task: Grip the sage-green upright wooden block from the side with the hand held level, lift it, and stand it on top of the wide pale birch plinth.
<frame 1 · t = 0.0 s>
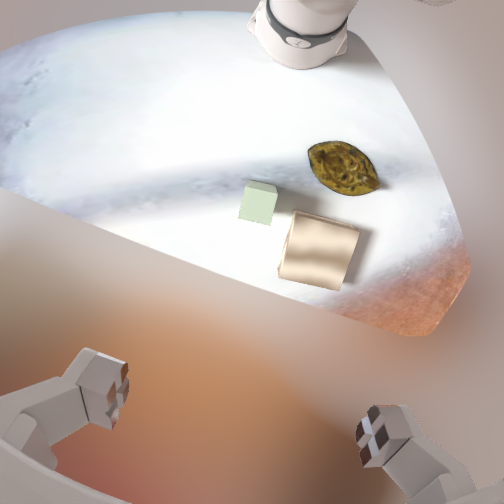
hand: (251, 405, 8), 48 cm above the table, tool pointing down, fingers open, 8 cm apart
green block: (258, 195, 54), on the table
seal: (342, 168, 52), on the table
plinth: (315, 246, 57), on the table
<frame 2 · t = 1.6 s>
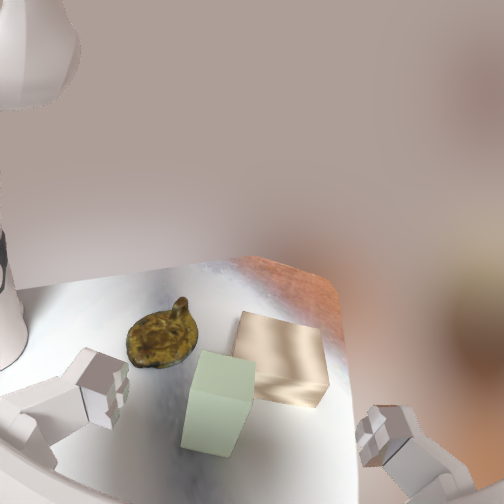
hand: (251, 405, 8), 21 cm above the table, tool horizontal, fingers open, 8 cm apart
green block: (208, 434, 27), on the table
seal: (162, 340, 40), on the table
plinth: (271, 371, 39), on the table
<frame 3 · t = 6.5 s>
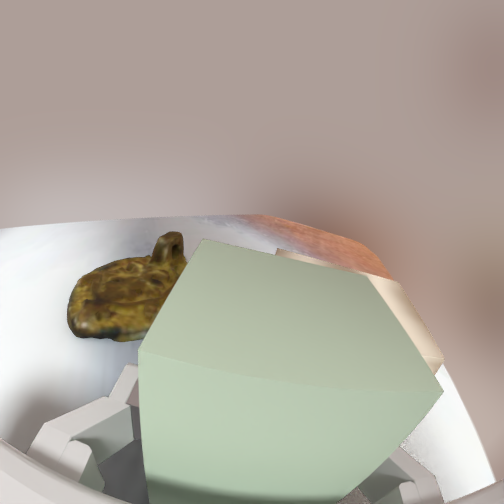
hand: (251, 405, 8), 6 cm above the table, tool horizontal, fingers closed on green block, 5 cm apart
green block: (222, 490, 10), on the table, touching gripper
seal: (137, 299, 23), on the table
plinth: (326, 349, 22), on the table
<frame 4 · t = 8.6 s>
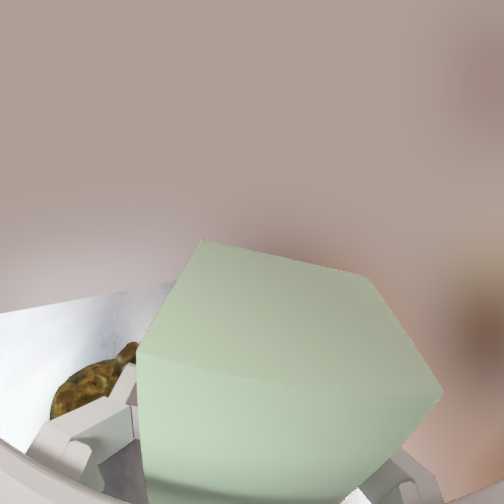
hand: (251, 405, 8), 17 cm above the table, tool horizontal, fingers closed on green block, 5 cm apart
green block: (221, 491, 9), point 11 cm above the table, touching gripper
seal: (104, 406, 23), on the table
when the fingers open (12 cm above the table, at t = 10.9 s): green block drops 2 cm, resting on plinth.
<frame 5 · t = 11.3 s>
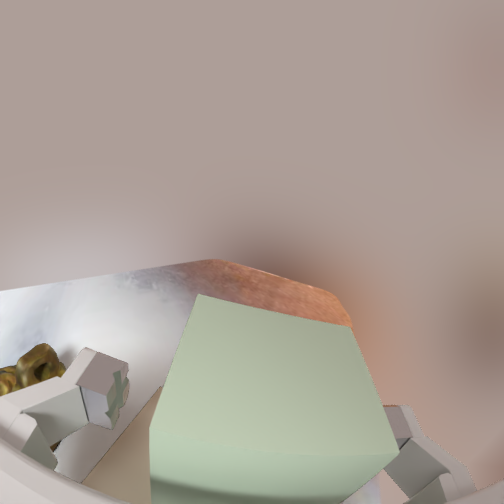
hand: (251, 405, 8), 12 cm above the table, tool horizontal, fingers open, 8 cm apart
green block: (215, 501, 10), point 5 cm above the table, touching plinth
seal: (8, 424, 13), on the table
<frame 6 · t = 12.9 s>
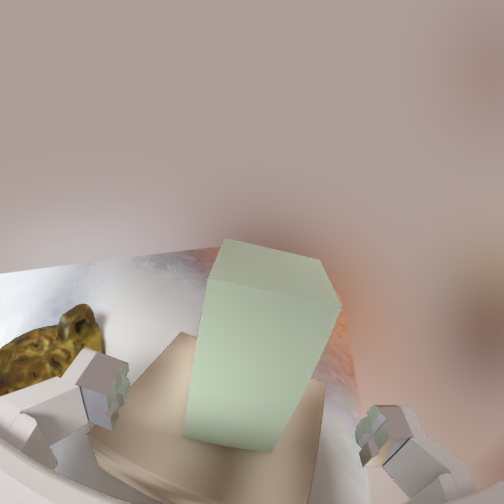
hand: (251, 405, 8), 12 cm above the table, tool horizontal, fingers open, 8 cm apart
green block: (230, 414, 16), point 5 cm above the table, touching plinth
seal: (45, 374, 19), on the table
plinth: (214, 450, 18), on the table, touching green block
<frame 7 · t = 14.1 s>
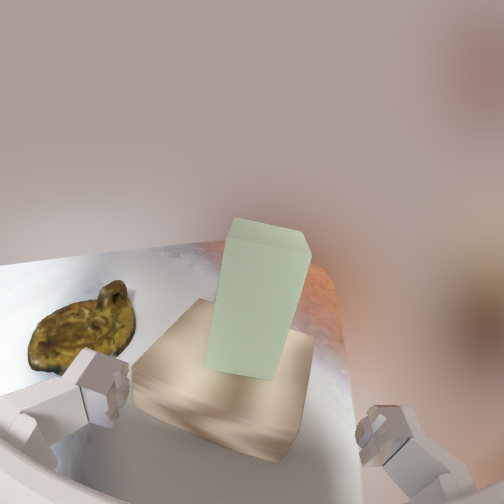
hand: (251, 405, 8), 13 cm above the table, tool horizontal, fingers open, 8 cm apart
green block: (240, 354, 23), point 5 cm above the table
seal: (84, 338, 26), on the table
plinth: (226, 393, 24), on the table
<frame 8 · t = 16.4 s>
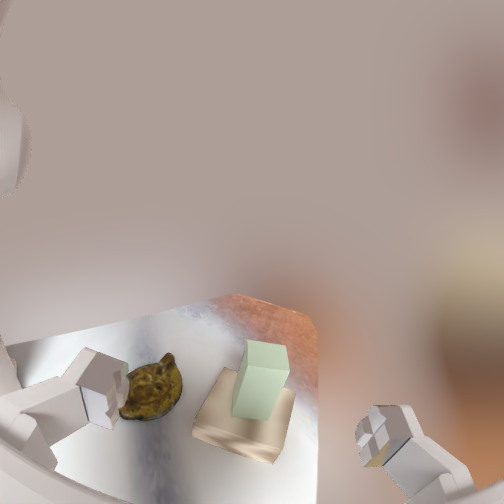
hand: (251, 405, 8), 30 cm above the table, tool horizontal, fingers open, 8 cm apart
green block: (249, 405, 38), point 5 cm above the table
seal: (149, 393, 41), on the table
plinth: (242, 424, 40), on the table
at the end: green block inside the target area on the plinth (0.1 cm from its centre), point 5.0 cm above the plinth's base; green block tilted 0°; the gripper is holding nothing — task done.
